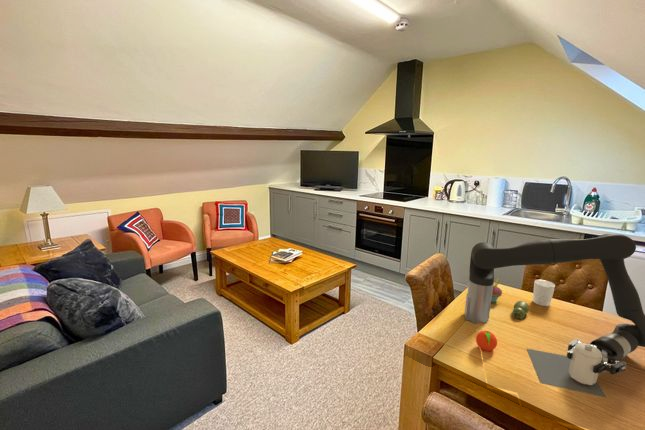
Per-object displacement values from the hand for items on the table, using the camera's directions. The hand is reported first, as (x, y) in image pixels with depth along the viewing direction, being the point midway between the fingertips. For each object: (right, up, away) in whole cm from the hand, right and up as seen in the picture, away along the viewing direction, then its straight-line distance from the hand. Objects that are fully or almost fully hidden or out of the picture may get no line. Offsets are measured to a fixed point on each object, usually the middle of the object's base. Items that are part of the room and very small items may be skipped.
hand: (581, 362), depth 99 cm
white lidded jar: (+2, -6, +2) cm, 6 cm away
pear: (+7, +2, +42) cm, 42 cm away
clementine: (-20, -4, +18) cm, 28 cm away
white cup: (+23, +4, +52) cm, 57 cm away
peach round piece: (+2, -7, +3) cm, 8 cm away
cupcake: (+1, +5, +55) cm, 55 cm away
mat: (0, -6, +7) cm, 10 cm away
